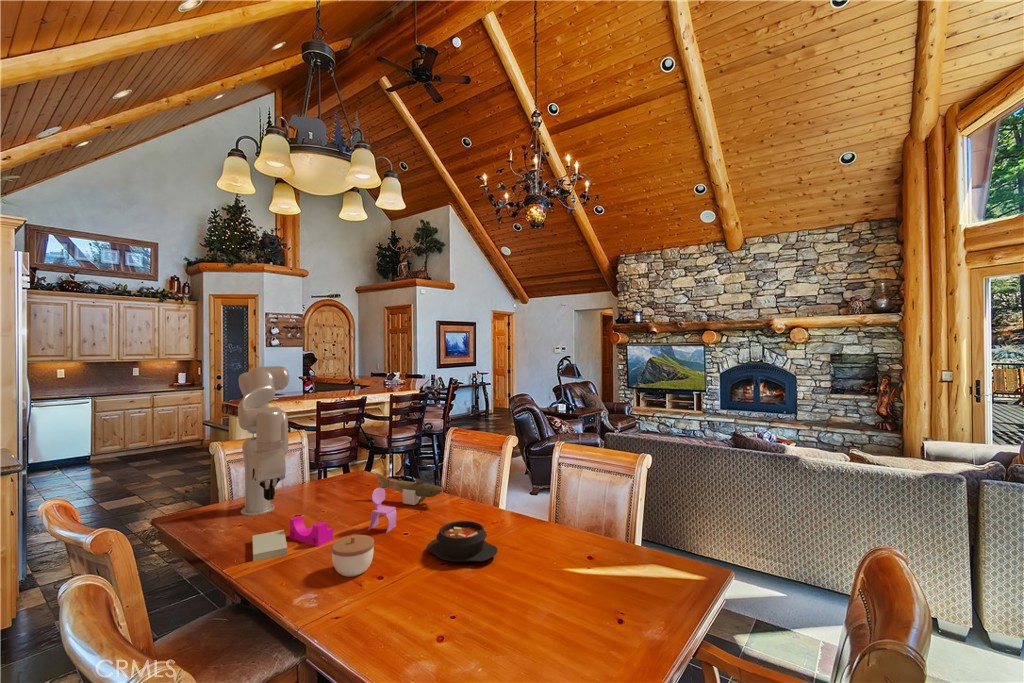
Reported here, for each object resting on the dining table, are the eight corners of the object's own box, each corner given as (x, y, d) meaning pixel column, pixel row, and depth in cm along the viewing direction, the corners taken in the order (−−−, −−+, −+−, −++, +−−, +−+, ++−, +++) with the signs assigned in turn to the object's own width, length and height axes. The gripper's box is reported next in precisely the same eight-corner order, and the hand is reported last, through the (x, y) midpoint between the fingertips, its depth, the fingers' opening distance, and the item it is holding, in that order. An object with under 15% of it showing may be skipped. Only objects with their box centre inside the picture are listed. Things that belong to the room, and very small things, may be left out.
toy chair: (386, 533, 170) (386, 493, 170) (366, 530, 173) (366, 491, 173) (398, 525, 178) (398, 487, 178) (379, 522, 180) (379, 485, 180)
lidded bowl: (382, 566, 145) (382, 531, 145) (356, 586, 133) (356, 548, 133) (349, 560, 149) (349, 526, 149) (322, 579, 137) (322, 542, 137)
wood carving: (382, 493, 215) (382, 470, 215) (447, 502, 202) (447, 477, 202) (370, 499, 207) (370, 475, 207) (436, 509, 194) (436, 483, 194)
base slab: (252, 545, 162) (252, 535, 162) (283, 539, 167) (283, 529, 167) (253, 565, 147) (253, 554, 147) (287, 557, 152) (287, 547, 152)
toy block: (332, 541, 164) (332, 520, 164) (318, 548, 159) (318, 526, 159) (304, 533, 171) (304, 513, 171) (289, 540, 165) (289, 519, 166)
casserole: (507, 549, 157) (506, 524, 157) (481, 574, 140) (480, 547, 140) (445, 536, 167) (445, 513, 167) (414, 558, 150) (414, 533, 150)
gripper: (284, 441, 165) (285, 491, 165) (240, 448, 153) (241, 503, 153) (295, 443, 161) (296, 495, 161) (251, 451, 149) (251, 507, 149)
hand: (269, 499), depth 157 cm, fingers closed
